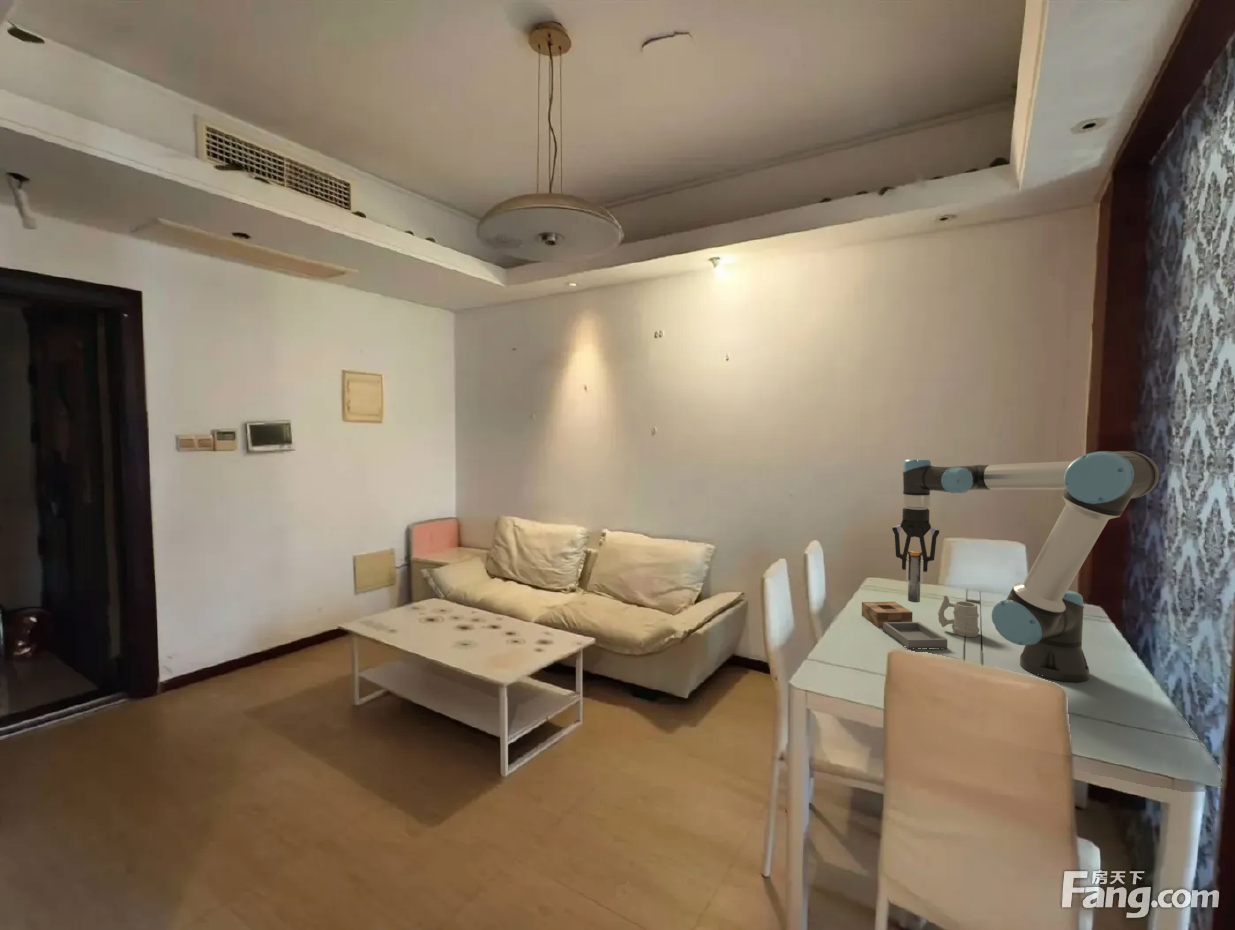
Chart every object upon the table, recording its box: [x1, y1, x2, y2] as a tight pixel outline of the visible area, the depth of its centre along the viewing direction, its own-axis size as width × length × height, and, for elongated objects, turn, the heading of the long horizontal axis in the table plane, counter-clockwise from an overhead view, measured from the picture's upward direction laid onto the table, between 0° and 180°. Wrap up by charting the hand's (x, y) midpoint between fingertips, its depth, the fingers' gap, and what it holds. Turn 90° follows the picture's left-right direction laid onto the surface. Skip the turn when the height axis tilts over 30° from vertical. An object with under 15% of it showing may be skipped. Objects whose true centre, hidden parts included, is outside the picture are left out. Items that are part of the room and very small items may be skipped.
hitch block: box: [861, 601, 913, 628], centre depth 196 cm, size 12×12×5 cm
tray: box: [882, 621, 948, 651], centre depth 178 cm, size 16×12×3 cm
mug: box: [937, 594, 980, 638], centre depth 184 cm, size 8×12×12 cm, turn 62°
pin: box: [907, 550, 923, 603], centre depth 177 cm, size 4×4×16 cm
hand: (914, 580), depth 177 cm, fingers closed on pin, 3 cm apart
